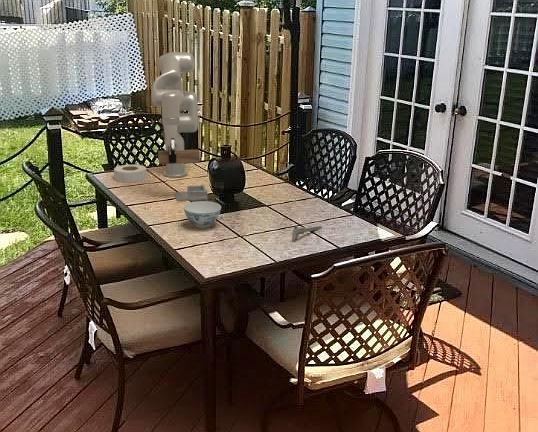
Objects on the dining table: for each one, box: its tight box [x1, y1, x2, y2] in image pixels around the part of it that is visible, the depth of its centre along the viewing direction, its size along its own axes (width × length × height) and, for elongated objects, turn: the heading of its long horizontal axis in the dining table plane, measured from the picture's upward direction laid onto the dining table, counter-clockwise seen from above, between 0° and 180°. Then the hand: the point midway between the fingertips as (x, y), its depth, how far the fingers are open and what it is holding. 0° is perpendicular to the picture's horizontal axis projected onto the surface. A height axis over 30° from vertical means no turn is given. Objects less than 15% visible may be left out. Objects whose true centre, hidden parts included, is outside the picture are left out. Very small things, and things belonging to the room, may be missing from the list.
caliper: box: [291, 224, 323, 242], centre depth 249 cm, size 20×1×6 cm, turn 143°
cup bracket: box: [174, 185, 209, 202], centre depth 292 cm, size 11×14×4 cm
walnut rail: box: [157, 149, 201, 165], centre depth 285 cm, size 4×18×5 cm, turn 104°
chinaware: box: [183, 200, 222, 229], centre depth 256 cm, size 15×15×8 cm
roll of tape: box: [113, 164, 147, 184], centre depth 318 cm, size 16×16×6 cm
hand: (172, 160), depth 285 cm, fingers closed on walnut rail, 4 cm apart
